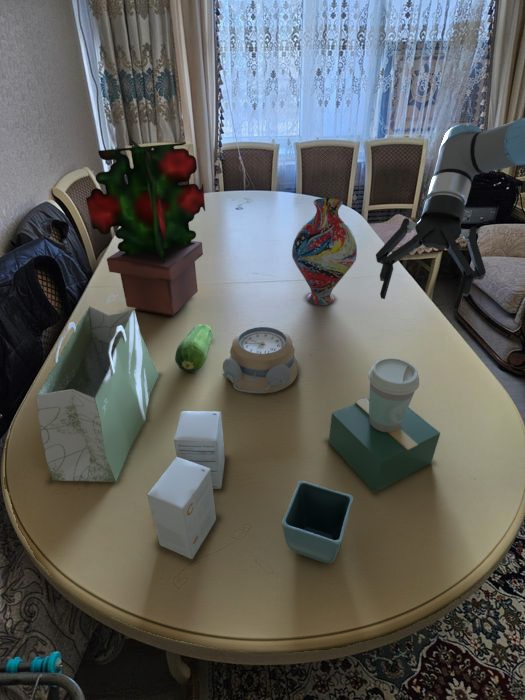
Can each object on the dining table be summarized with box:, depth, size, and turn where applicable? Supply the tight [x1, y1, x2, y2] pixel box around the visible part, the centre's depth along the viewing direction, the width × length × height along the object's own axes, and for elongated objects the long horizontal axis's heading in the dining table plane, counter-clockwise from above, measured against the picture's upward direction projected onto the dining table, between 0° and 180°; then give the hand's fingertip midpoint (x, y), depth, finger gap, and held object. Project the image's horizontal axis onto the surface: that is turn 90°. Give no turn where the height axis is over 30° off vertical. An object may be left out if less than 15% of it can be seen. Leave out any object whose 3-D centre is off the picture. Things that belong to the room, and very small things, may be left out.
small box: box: [146, 456, 217, 560], centre depth 70 cm, size 8×6×13 cm
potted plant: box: [85, 139, 206, 317], centre depth 125 cm, size 22×22×45 cm
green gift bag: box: [36, 305, 160, 483], centre depth 89 cm, size 32×14×23 cm, turn 178°
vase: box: [291, 197, 358, 306], centre depth 132 cm, size 19×19×30 cm
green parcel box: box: [328, 397, 441, 493], centre depth 86 cm, size 14×14×8 cm
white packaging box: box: [173, 410, 226, 490], centre depth 80 cm, size 7×7×13 cm
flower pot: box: [281, 480, 354, 564], centre depth 69 cm, size 9×9×9 cm
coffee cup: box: [367, 357, 420, 432], centre depth 80 cm, size 8×8×12 cm
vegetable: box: [174, 323, 214, 372], centre depth 114 cm, size 7×7×20 cm
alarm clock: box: [222, 326, 299, 394], centre depth 105 cm, size 17×9×23 cm
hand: (417, 303), depth 86 cm, fingers open, 13 cm apart
